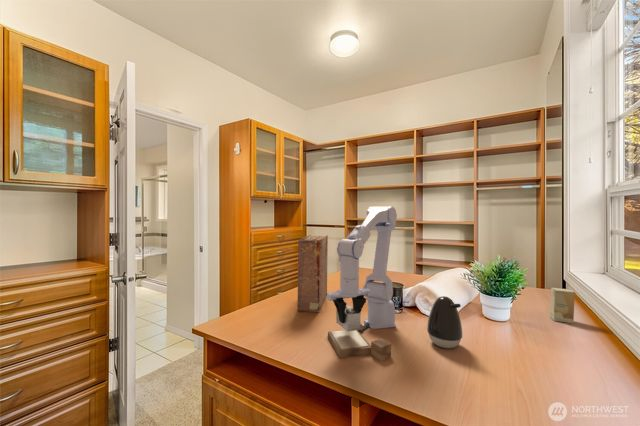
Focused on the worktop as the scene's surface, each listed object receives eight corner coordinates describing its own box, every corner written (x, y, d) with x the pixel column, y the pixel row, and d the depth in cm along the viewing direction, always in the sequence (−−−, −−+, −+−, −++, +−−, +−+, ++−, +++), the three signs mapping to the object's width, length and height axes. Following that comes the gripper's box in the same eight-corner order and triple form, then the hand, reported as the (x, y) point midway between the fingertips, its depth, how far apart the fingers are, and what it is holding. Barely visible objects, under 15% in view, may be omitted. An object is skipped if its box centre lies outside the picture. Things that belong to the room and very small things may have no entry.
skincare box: (553, 321, 106) (554, 289, 106) (549, 317, 110) (549, 287, 110) (574, 323, 104) (575, 291, 104) (569, 319, 108) (570, 289, 108)
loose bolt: (364, 325, 100) (364, 318, 101) (370, 327, 99) (370, 319, 99) (355, 331, 96) (355, 323, 96) (362, 332, 94) (361, 324, 94)
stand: (356, 334, 93) (356, 327, 93) (372, 354, 80) (372, 346, 80) (327, 337, 90) (327, 330, 90) (339, 358, 78) (339, 350, 78)
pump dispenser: (448, 356, 80) (448, 304, 79) (420, 340, 89) (420, 294, 89) (470, 348, 84) (470, 299, 84) (441, 334, 93) (442, 290, 93)
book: (309, 293, 139) (309, 234, 139) (327, 294, 137) (327, 235, 137) (297, 311, 114) (298, 239, 114) (319, 313, 112) (320, 240, 112)
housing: (348, 320, 90) (348, 303, 90) (360, 329, 83) (360, 311, 83) (336, 322, 88) (336, 305, 88) (347, 331, 81) (347, 313, 81)
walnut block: (380, 351, 82) (380, 338, 82) (390, 357, 79) (391, 343, 79) (371, 355, 80) (371, 341, 80) (381, 361, 76) (381, 347, 76)
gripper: (362, 273, 92) (362, 313, 92) (323, 276, 86) (322, 319, 86) (374, 277, 85) (374, 321, 85) (332, 281, 79) (332, 328, 80)
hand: (348, 320), depth 85 cm, fingers closed on housing, 4 cm apart
